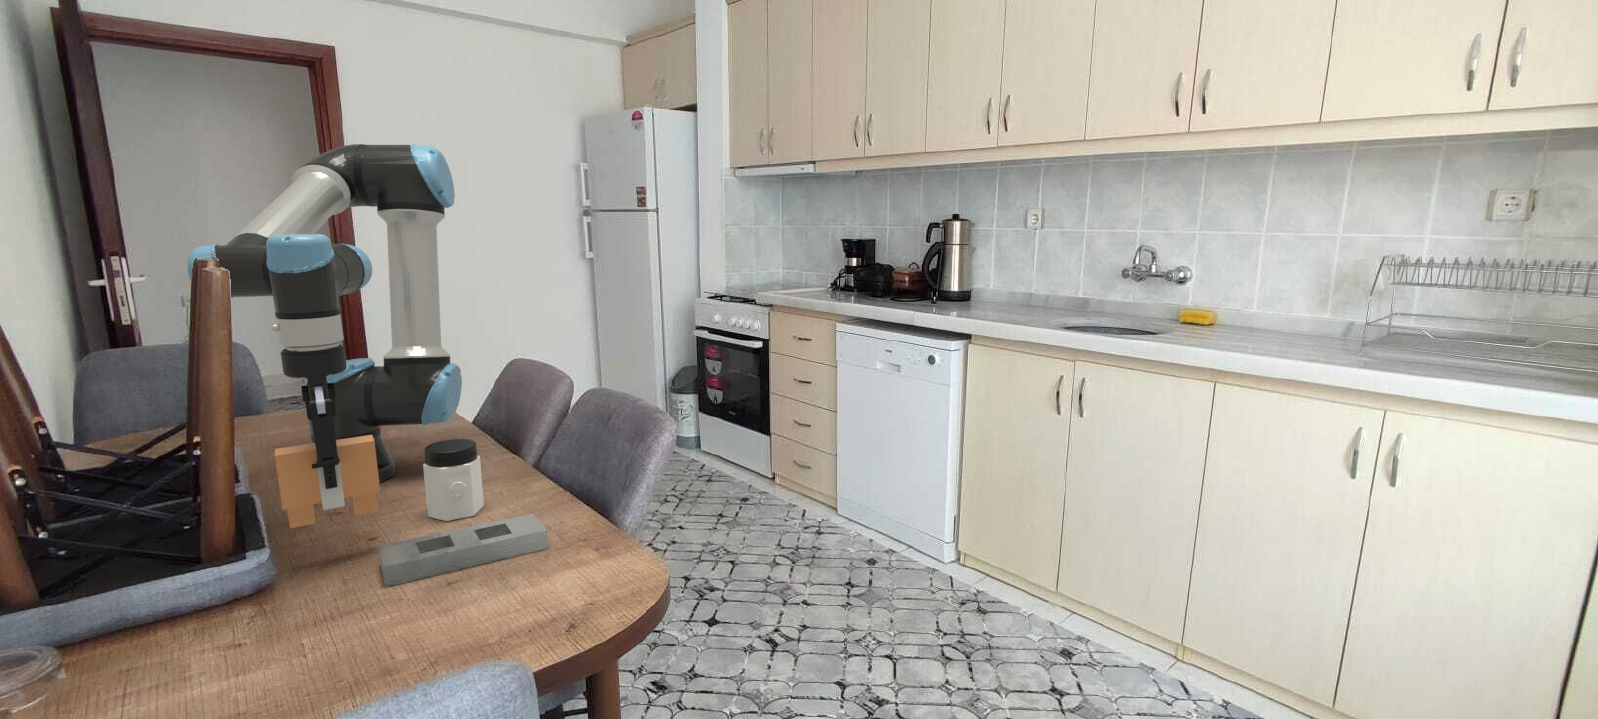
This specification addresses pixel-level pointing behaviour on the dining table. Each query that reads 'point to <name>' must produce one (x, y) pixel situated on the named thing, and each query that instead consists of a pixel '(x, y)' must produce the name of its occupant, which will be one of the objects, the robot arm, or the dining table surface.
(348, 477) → the tan notched block
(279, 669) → the dining table surface
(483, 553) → the grey slotted block
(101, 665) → the dining table surface
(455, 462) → the jar
